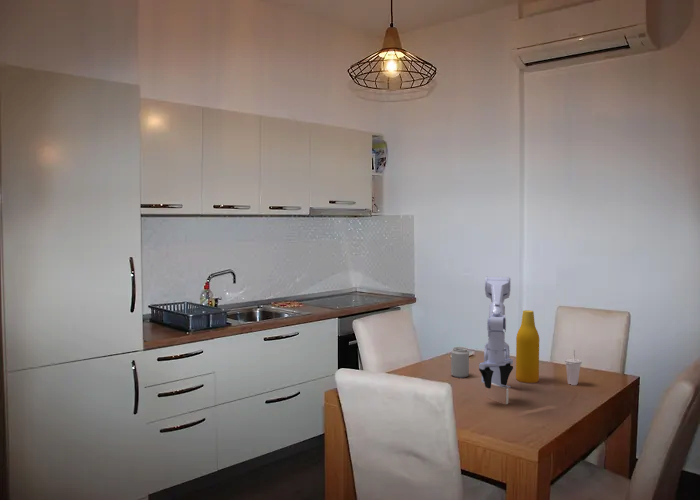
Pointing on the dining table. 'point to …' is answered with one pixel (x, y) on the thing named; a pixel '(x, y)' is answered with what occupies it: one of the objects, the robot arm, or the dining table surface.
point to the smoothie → (573, 369)
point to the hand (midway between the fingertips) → (495, 386)
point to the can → (460, 362)
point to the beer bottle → (527, 350)
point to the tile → (498, 393)
